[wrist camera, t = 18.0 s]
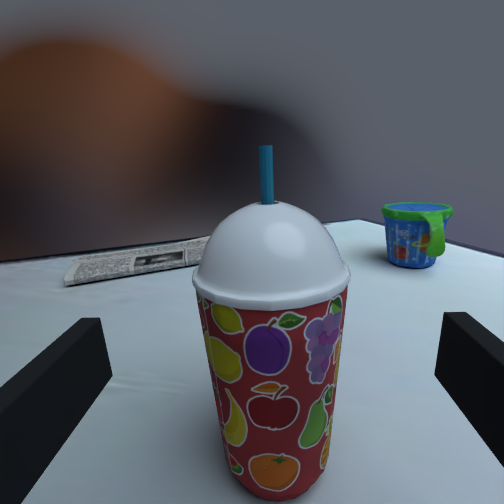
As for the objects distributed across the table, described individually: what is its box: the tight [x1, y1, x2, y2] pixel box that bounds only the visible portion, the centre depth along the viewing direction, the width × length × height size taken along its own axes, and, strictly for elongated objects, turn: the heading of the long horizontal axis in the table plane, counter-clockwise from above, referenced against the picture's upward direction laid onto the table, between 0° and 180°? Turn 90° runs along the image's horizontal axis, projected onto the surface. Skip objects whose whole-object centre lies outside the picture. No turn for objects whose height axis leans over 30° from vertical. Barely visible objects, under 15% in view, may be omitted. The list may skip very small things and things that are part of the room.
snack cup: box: [382, 202, 453, 268], centre depth 54 cm, size 16×10×10 cm
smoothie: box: [192, 146, 351, 501], centre depth 18 cm, size 8×8×20 cm
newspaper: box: [64, 236, 210, 286], centre depth 62 cm, size 35×12×4 cm, turn 111°
